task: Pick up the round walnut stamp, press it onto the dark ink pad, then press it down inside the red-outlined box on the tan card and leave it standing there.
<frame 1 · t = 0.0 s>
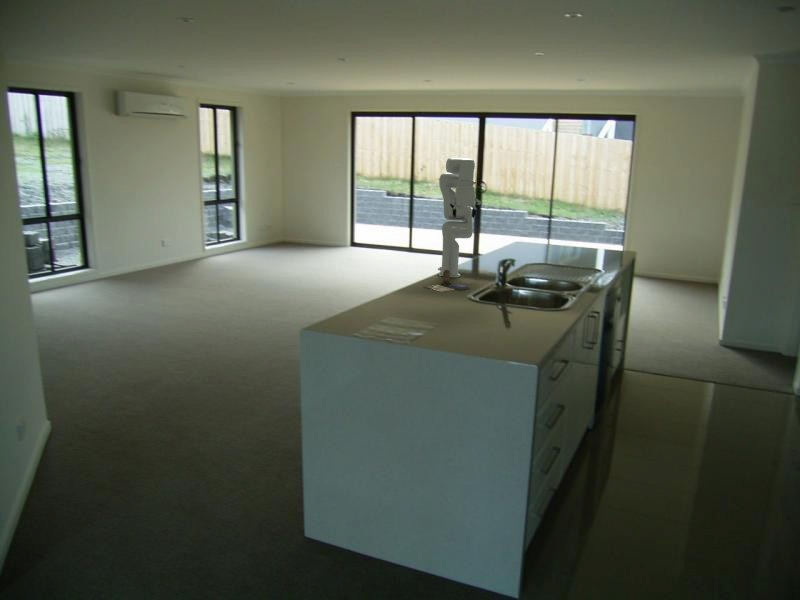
hand: (463, 217, 329), 37 cm above the countertop, tool pointing down, fingers open, 9 cm apart
ink pad: (459, 288, 334), on the countertop
stamp: (445, 284, 341), on the countertop
card sheet: (438, 288, 331), on the countertop
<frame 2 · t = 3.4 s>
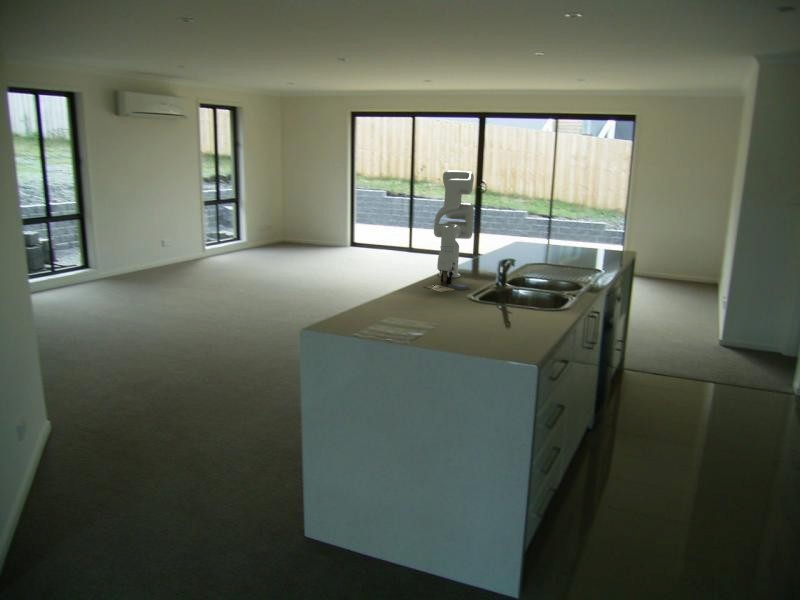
hand: (446, 282, 341), 1 cm above the countertop, tool pointing down, fingers closed on stamp, 3 cm apart
stamp: (445, 284, 341), on the countertop, touching gripper
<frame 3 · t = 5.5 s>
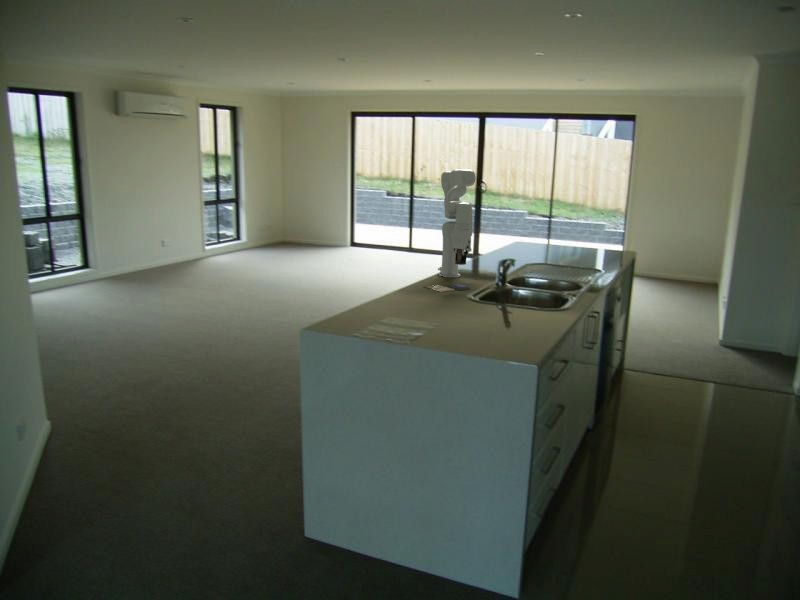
hand: (460, 261, 330), 14 cm above the countertop, tool pointing down, fingers closed on stamp, 3 cm apart
stamp: (460, 264, 331), point 13 cm above the countertop, touching gripper
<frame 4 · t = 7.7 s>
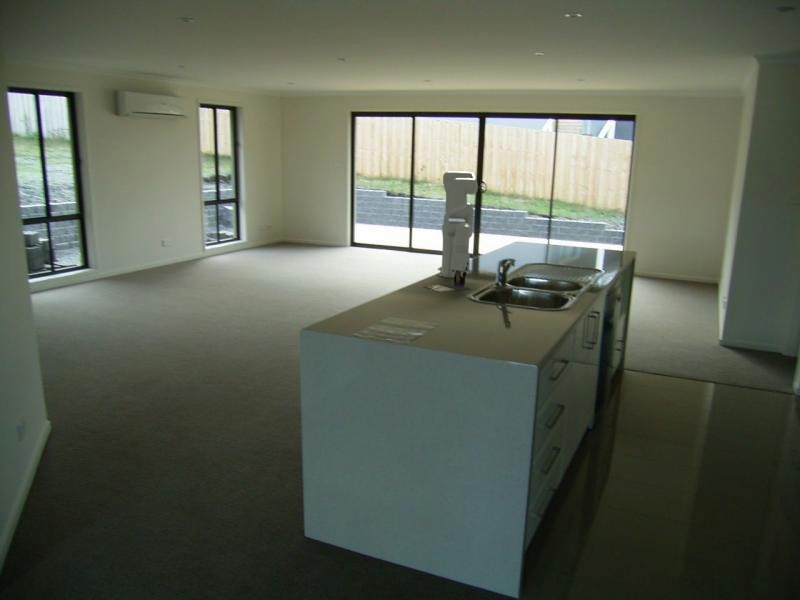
hand: (459, 282, 333), 3 cm above the countertop, tool pointing down, fingers closed on stamp, 3 cm apart
stamp: (459, 285, 333), point 1 cm above the countertop, touching gripper, ink pad
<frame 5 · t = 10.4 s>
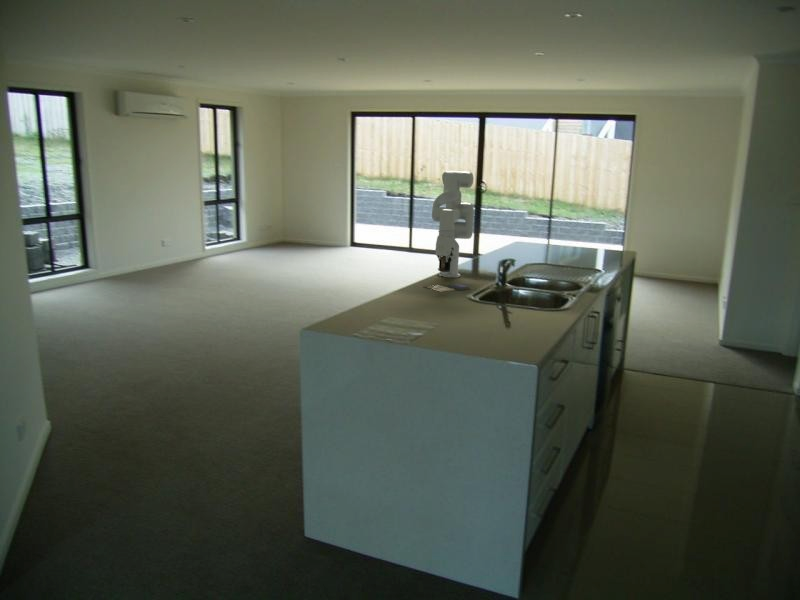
hand: (444, 268, 326), 11 cm above the countertop, tool pointing down, fingers closed on stamp, 3 cm apart
stamp: (444, 271, 326), point 10 cm above the countertop, touching gripper
when the fingers open (2 cm above the countertop, at t = 12.2 s): stamp stays where it is, resting on card sheet.
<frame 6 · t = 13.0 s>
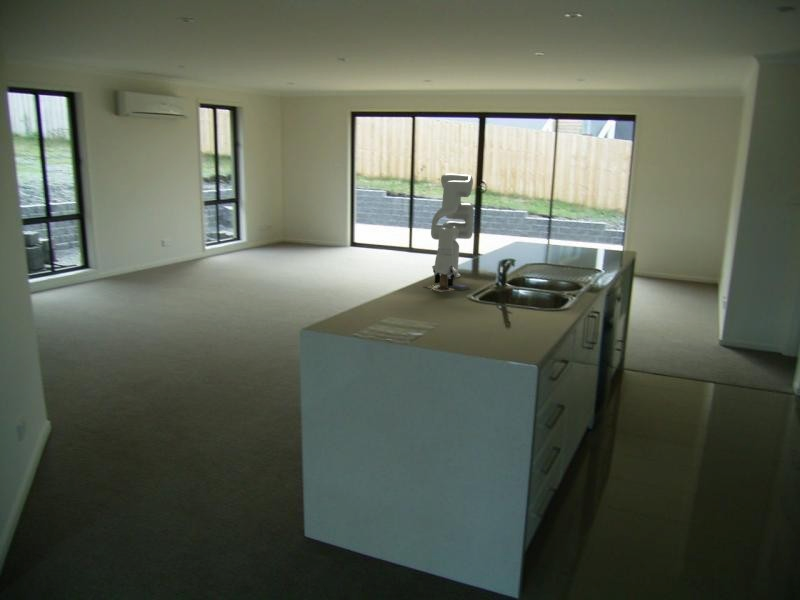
hand: (443, 284, 328), 3 cm above the countertop, tool pointing down, fingers open, 9 cm apart
stamp: (443, 289, 328), resting on card sheet
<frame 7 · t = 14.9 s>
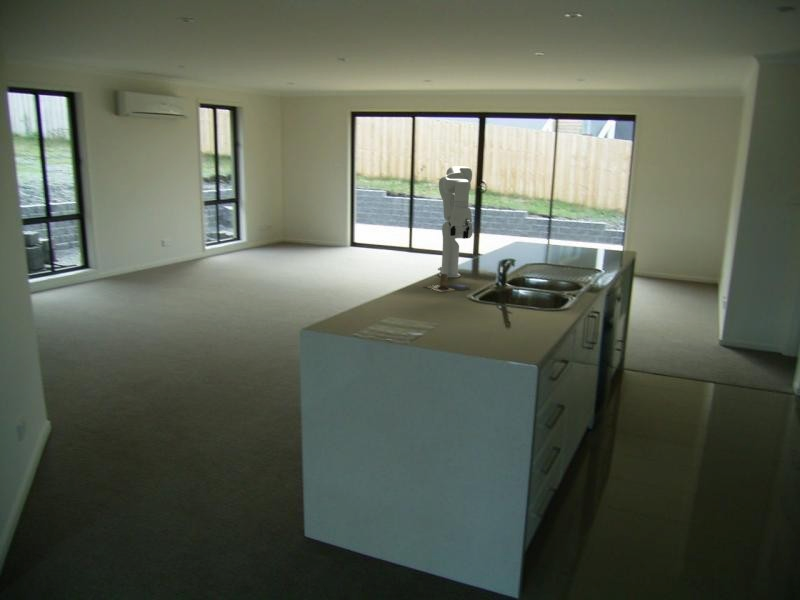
hand: (459, 237, 336), 26 cm above the countertop, tool pointing down, fingers open, 9 cm apart
nothing on the countertop moved.
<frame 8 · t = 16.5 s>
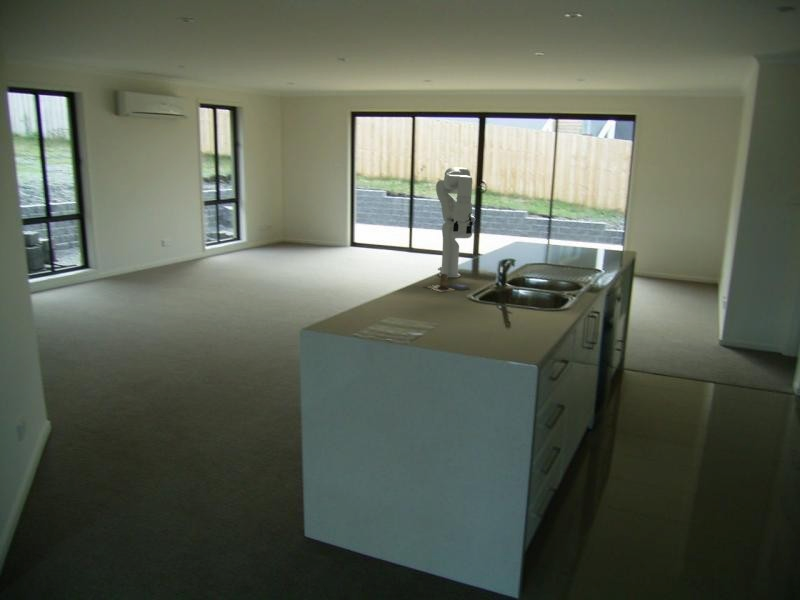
hand: (462, 232, 337), 28 cm above the countertop, tool pointing down, fingers open, 9 cm apart
nothing on the countertop moved.
at the end: stamp 0.0 cm from the target spot on the card sheet, point 0.2 cm above the card sheet's base; stamp tilted 0°; the gripper is holding nothing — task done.
